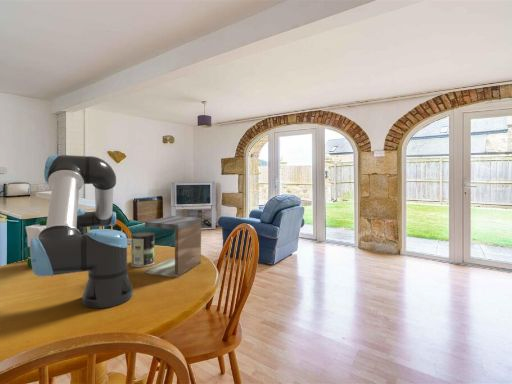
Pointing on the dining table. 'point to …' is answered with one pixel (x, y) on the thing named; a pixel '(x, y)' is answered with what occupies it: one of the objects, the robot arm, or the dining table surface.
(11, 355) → the dining table surface
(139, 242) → the coffee can
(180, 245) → the brown piece
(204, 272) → the dining table surface
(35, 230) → the milk carton
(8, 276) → the dining table surface
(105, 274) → the robot arm
